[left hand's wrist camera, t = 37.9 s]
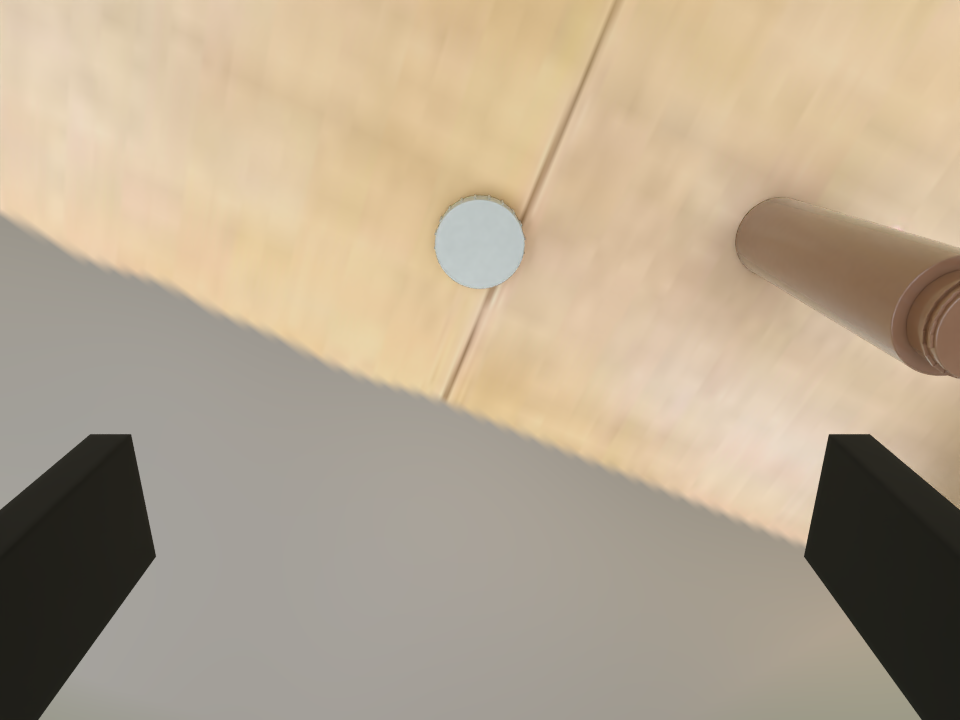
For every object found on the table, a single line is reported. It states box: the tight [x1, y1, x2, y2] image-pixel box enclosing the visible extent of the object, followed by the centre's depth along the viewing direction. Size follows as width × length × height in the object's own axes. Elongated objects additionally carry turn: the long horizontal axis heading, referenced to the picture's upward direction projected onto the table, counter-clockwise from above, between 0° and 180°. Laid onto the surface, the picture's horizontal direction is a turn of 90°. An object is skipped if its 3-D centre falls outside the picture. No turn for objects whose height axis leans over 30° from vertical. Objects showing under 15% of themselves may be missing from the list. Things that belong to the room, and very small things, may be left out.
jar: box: [736, 197, 960, 378], centre depth 31 cm, size 5×5×18 cm
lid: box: [434, 194, 525, 289], centre depth 39 cm, size 5×5×2 cm
